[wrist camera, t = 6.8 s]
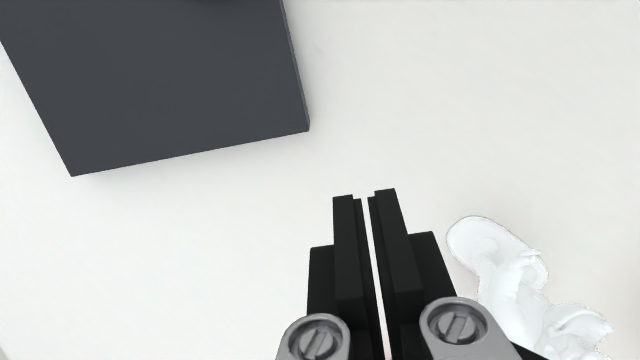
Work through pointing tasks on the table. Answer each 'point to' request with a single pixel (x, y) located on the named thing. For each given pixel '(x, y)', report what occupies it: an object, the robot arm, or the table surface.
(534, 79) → the table surface
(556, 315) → the figurine
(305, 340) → the robot arm
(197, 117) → the scale
